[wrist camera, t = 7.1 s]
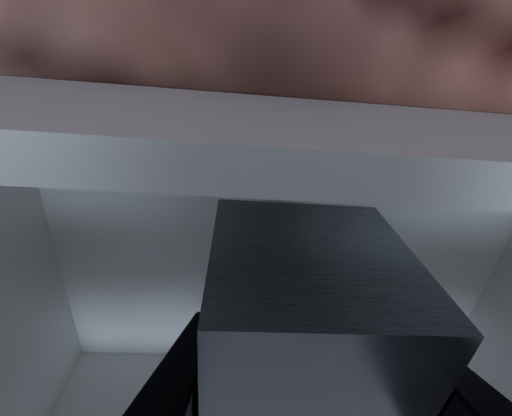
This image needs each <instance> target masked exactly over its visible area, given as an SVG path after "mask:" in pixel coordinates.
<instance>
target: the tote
mask: <svg viewBox="0 0 512 416" xmlns="http://www.w3.org/2000/svg"><path fill="white" fill-rule="evenodd" d="M219 199H223V200H242V201H261V202H281V203H300V204H319V205H338V206H358V207H375V208H376V209H377V210H378V211H379V213H380V214H381V215H382V216H383V217H384V219H385V220H386V221H387V222H388V223H389V225H390V226H391V227H392V228H393V229H394V230H395V232H396V233H397V234H398V235H399V236H400V238H401V239H402V240H403V241H404V242H405V243H406V245H407V246H408V247H409V248H410V249H411V251H412V252H413V253H414V254H415V255H416V257H417V258H418V259H419V260H420V261H421V262H422V264H423V265H424V266H425V267H426V268H427V270H428V271H429V272H430V273H431V274H432V275H433V277H434V278H435V279H436V280H437V281H438V283H439V284H440V285H441V286H442V287H443V289H444V290H445V291H446V292H447V293H448V294H449V296H450V297H451V298H452V299H453V300H454V302H455V303H456V304H457V305H458V306H459V307H460V309H461V310H462V311H463V312H464V313H465V315H466V316H467V317H468V318H469V319H470V321H471V322H472V323H473V324H474V325H475V326H476V328H477V329H478V330H479V331H480V332H481V334H482V335H483V336H484V337H485V338H484V339H483V341H482V343H481V344H480V346H479V348H478V349H477V351H476V353H475V354H474V356H473V358H472V359H471V361H470V363H469V364H468V366H467V367H469V368H470V369H471V370H472V371H474V372H475V373H476V374H477V375H479V376H480V377H481V378H482V379H484V380H485V381H486V382H487V383H489V384H490V385H491V386H492V387H494V388H495V389H496V390H497V391H499V392H500V393H501V394H502V395H504V396H505V397H506V398H507V399H509V400H510V401H511V402H512V115H511V114H498V113H485V112H472V111H459V110H446V109H433V108H420V107H407V106H394V105H381V104H368V103H355V102H342V101H329V100H316V99H303V98H290V97H277V96H264V95H251V94H238V93H225V92H212V91H199V90H186V89H173V88H160V87H147V86H134V85H121V84H108V83H95V82H82V81H69V80H56V79H43V78H30V77H17V76H4V75H3V76H0V416H122V415H123V414H124V412H125V411H126V409H127V408H128V407H129V405H130V404H131V402H132V401H133V400H134V398H135V397H136V395H137V394H138V393H139V391H140V390H141V388H142V387H143V386H144V384H145V383H146V381H147V380H148V379H149V377H150V376H151V375H152V373H153V372H154V370H155V369H156V368H157V366H158V365H159V363H160V362H161V361H162V359H163V358H164V356H165V355H166V354H167V352H168V351H169V349H170V348H171V347H172V345H173V344H174V342H175V341H176V340H177V338H178V337H179V335H180V334H181V333H182V331H183V330H184V328H185V327H186V326H187V324H188V323H189V321H190V320H191V319H192V317H193V316H194V315H195V313H196V312H200V311H201V305H202V298H203V292H204V286H205V280H206V274H207V268H208V262H209V255H210V249H211V243H212V237H213V231H214V225H215V218H216V212H217V206H218V200H219Z"/></svg>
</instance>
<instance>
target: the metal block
mask: <svg viewBox="0 0 512 416" xmlns="http://www.w3.org/2000/svg"><path fill="white" fill-rule="evenodd" d="M484 338H485V337H484V336H483V335H482V334H481V332H480V331H479V330H478V329H477V328H476V326H475V325H474V324H473V323H472V322H471V321H470V319H469V318H468V317H467V316H466V315H465V313H464V312H463V311H462V310H461V309H460V307H459V306H458V305H457V304H456V303H455V302H454V300H453V299H452V298H451V297H450V296H449V294H448V293H447V292H446V291H445V290H444V289H443V287H442V286H441V285H440V284H439V283H438V281H437V280H436V279H435V278H434V277H433V275H432V274H431V273H430V272H429V271H428V270H427V268H426V267H425V266H424V265H423V264H422V262H421V261H420V260H419V259H418V258H417V257H416V255H415V254H414V253H413V252H412V251H411V249H410V248H409V247H408V246H407V245H406V243H405V242H404V241H403V240H402V239H401V238H400V236H399V235H398V234H397V233H396V232H395V230H394V229H393V228H392V227H391V226H390V225H389V223H388V222H387V221H386V220H385V219H384V217H383V216H382V215H381V214H380V213H379V211H378V210H377V209H376V208H375V207H358V206H338V205H319V204H300V203H281V202H261V201H242V200H223V199H219V200H218V206H217V212H216V218H215V225H214V231H213V237H212V243H211V249H210V255H209V262H208V268H207V274H206V280H205V286H204V292H203V298H202V305H201V311H200V317H199V323H198V329H197V348H198V411H199V416H438V414H439V413H440V411H441V409H442V408H443V406H444V404H445V403H446V401H447V399H448V398H449V396H450V394H451V393H452V391H453V389H454V388H455V386H456V384H457V383H458V381H459V379H460V378H461V376H462V374H463V373H464V371H465V369H466V368H467V366H468V364H469V363H470V361H471V359H472V358H473V356H474V354H475V353H476V351H477V349H478V348H479V346H480V344H481V343H482V341H483V339H484Z"/></svg>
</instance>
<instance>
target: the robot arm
mask: <svg viewBox="0 0 512 416" xmlns="http://www.w3.org/2000/svg"><path fill="white" fill-rule="evenodd" d="M199 317H200V312H196V313H195V315H194V316H193V317H192V319H191V320H190V321H189V323H188V324H187V326H186V327H185V328H184V330H183V331H182V333H181V334H180V335H179V337H178V338H177V340H176V341H175V342H174V344H173V345H172V347H171V348H170V349H169V351H168V352H167V354H166V355H165V356H164V358H163V359H162V361H161V362H160V363H159V365H158V366H157V368H156V369H155V370H154V372H153V373H152V375H151V376H150V377H149V379H148V380H147V381H146V383H145V384H144V386H143V387H142V388H141V390H140V391H139V393H138V394H137V395H136V397H135V398H134V400H133V401H132V402H131V404H130V405H129V407H128V408H127V409H126V411H125V412H124V414H123V415H122V416H199V411H198V348H197V329H198V323H199ZM438 416H512V402H511V401H510V400H509V399H507V398H506V397H505V396H504V395H502V394H501V393H500V392H499V391H497V390H496V389H495V388H494V387H492V386H491V385H490V384H489V383H487V382H486V381H485V380H484V379H482V378H481V377H480V376H479V375H477V374H476V373H475V372H474V371H472V370H471V369H470V368H469V367H467V368H466V369H465V371H464V373H463V374H462V376H461V378H460V379H459V381H458V383H457V384H456V386H455V388H454V389H453V391H452V393H451V394H450V396H449V398H448V399H447V401H446V403H445V404H444V406H443V408H442V409H441V411H440V413H439V414H438Z"/></svg>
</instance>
